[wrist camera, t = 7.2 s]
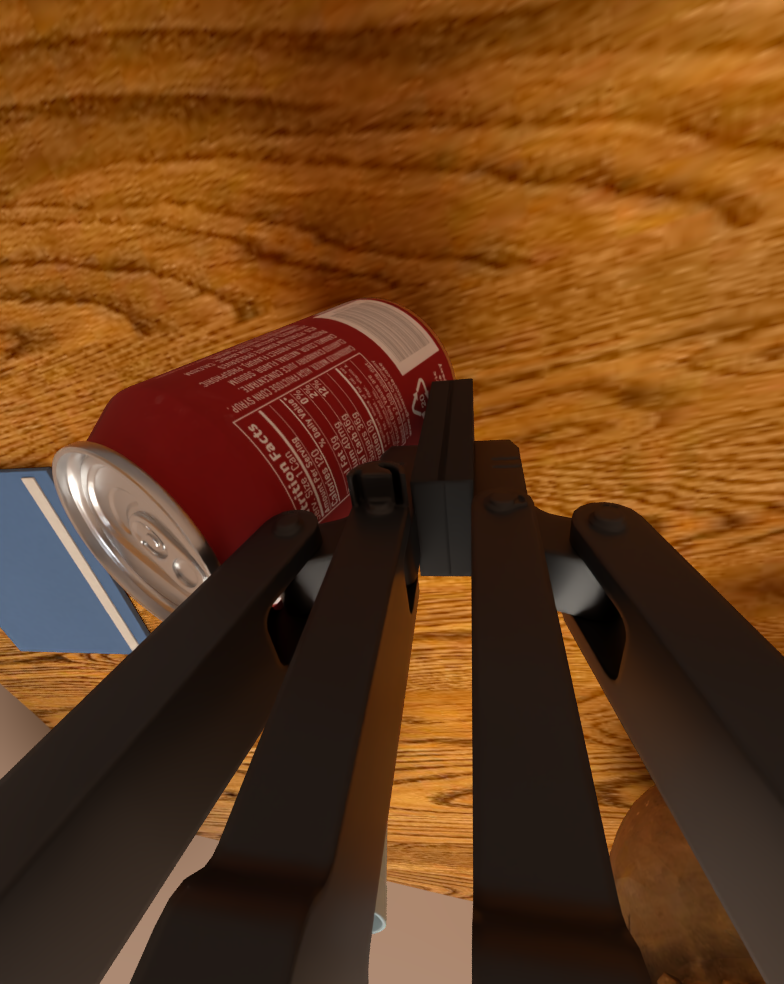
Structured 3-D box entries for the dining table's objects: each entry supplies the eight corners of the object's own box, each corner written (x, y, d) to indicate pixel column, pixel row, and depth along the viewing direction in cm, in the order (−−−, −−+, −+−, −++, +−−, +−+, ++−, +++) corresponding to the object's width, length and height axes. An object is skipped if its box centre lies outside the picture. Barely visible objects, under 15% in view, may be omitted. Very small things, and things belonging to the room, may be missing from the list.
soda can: (367, 252, 17) (17, 347, 8) (499, 380, 17) (285, 604, 8) (303, 378, 21) (40, 518, 13) (405, 477, 22) (209, 681, 13)
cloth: (-120, 474, 28) (-129, 479, 27) (50, 466, 26) (44, 471, 25) (24, 647, 36) (19, 652, 36) (160, 650, 34) (157, 656, 34)
